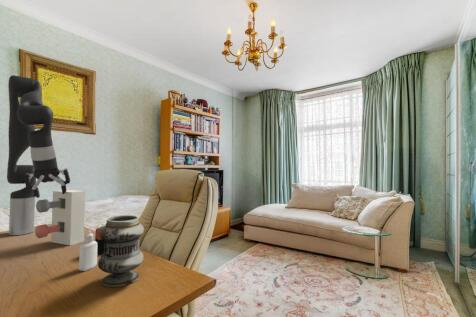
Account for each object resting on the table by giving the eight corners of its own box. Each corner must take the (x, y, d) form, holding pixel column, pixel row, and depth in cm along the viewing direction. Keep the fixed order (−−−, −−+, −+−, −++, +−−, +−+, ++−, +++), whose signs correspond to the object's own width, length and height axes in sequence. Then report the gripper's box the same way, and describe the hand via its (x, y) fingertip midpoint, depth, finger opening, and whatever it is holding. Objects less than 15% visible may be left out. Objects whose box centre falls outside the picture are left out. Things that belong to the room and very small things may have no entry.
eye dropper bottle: (100, 267, 81) (101, 230, 81) (80, 272, 76) (82, 233, 77) (94, 263, 83) (95, 227, 84) (75, 268, 79) (77, 231, 79)
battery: (117, 250, 96) (118, 225, 96) (98, 255, 91) (99, 228, 91) (113, 248, 99) (113, 223, 99) (94, 252, 94) (95, 226, 94)
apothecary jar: (113, 294, 64) (115, 224, 64) (88, 282, 70) (90, 218, 71) (151, 276, 74) (153, 216, 74) (127, 267, 80) (128, 212, 81)
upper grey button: (44, 213, 96) (44, 200, 96) (35, 212, 98) (36, 199, 98) (62, 210, 102) (62, 198, 103) (54, 209, 104) (54, 197, 104)
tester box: (70, 245, 102) (71, 192, 103) (51, 242, 106) (52, 191, 107) (83, 241, 107) (85, 191, 108) (65, 238, 112) (66, 189, 113)
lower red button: (43, 239, 96) (43, 226, 96) (34, 237, 97) (35, 224, 98) (61, 234, 102) (61, 222, 102) (53, 233, 104) (53, 221, 104)
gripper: (66, 153, 104) (72, 189, 108) (23, 157, 97) (31, 195, 101) (64, 157, 97) (71, 195, 101) (18, 161, 91) (27, 202, 95)
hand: (51, 195), depth 101 cm, fingers open, 8 cm apart
